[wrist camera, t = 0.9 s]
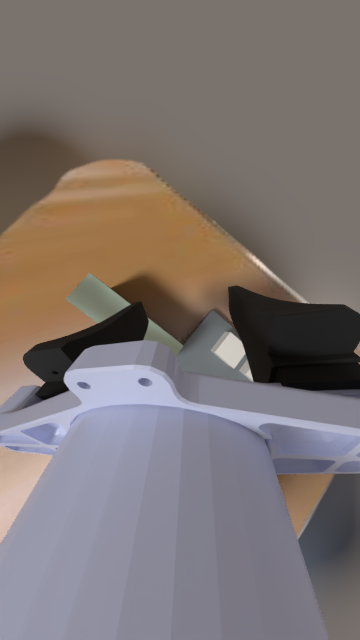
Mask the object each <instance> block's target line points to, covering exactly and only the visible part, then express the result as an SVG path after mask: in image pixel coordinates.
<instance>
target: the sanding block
mask: <svg viewBox="0 0 360 640" xmlns="http://www.w3.org/2000/svg"><path fill="white" fill-rule="evenodd" d="M66 300H67V301H69V302H70V303H71V304H73V305H74V306H75V307H77V308H78V309H79V310H81V311H82V312H83V313H85V314H86V315H87V316H89V317H90V318H91V319H93V320H94V321H95V322H97V323H100V322H102V321H104V320H105V319H107V318H109V317H111V316H112V315H114V314H116V313H117V312H119V311H120V310H122V309H124V308H125V307H127V306H129V305H131V304H130V303H129V302H128V301H126V300H125V299H124V298H122V297H121V296H120V295H119V294H117V293H116V292H115V291H113V290H112V289H111V288H110V287H108V286H107V285H105V284H104V283H103V282H101V281H100V280H99V279H97V278H96V277H95V276H93V275H92V274H91V273H89V274H88V275H87V276H86V277H85V278H84V279H83V280H82V282H81V283H80V284H79V285H78V286H77V287H76V288H75V289H74V290H73V292H72V293H71V294H70V295H69V296H68V297H67V298H66ZM148 320H149V324H148V328H147V332H146V334H145V337H144V339H143V340H146V341H157V342H160V343H162V344H164V345H166V346H168V347H170V348H171V350H172V351H173V352H174V354H175V355H177V354H178V353H179V351H180V350H181V349H182V347H183V345H182V344H181V343H180V342H179V341H178V340H176V339H175V338H174V337H173V336H171V335H170V334H169V333H167V332H166V331H165V330H164V329H162V328H161V327H160V326H158V325H157V324H156V323H155V322H153V321H152V320H151V319H149V318H148Z"/></svg>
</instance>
